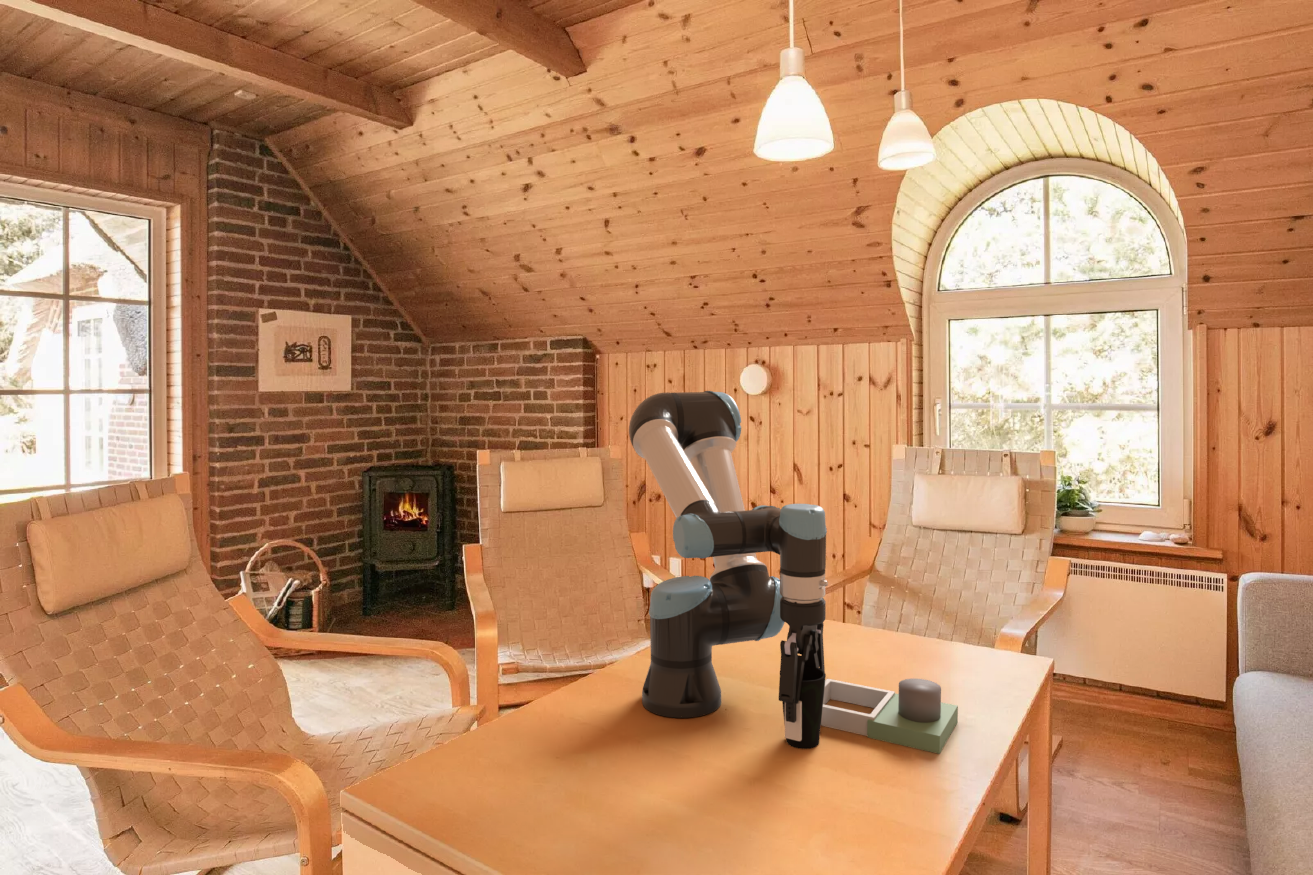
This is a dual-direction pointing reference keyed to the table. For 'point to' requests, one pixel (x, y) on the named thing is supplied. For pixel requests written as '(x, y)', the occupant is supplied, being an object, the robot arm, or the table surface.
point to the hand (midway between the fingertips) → (802, 729)
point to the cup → (810, 708)
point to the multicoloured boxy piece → (893, 713)
